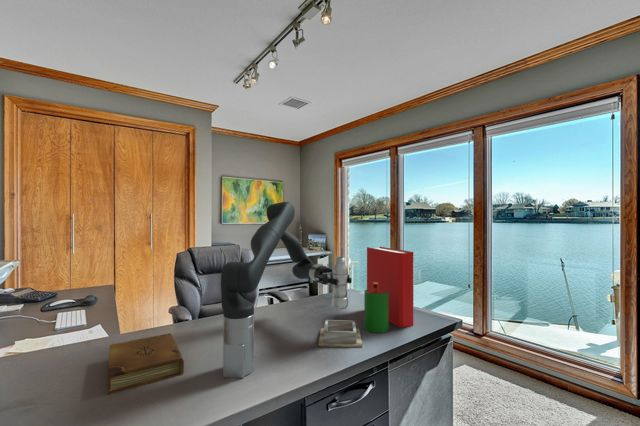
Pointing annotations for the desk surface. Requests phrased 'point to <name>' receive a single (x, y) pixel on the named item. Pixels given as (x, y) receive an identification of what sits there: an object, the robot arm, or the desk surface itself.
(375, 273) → the book
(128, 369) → the diary
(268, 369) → the desk surface
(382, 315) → the motor
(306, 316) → the desk surface
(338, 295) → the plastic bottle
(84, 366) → the desk surface
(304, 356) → the desk surface
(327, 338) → the mounting cradle
